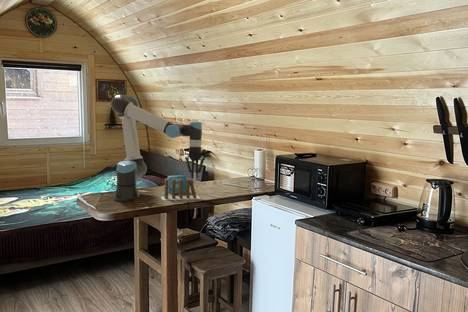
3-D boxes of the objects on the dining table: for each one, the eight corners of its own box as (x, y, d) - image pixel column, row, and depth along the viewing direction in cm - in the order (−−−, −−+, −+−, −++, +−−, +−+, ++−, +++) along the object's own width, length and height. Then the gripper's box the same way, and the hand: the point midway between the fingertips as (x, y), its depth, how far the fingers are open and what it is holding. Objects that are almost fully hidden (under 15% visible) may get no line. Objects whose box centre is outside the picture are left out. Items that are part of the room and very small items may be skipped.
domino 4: (187, 198, 266) (187, 179, 265) (185, 196, 271) (185, 178, 270) (189, 198, 267) (189, 179, 266) (188, 196, 272) (188, 178, 270)
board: (162, 201, 260) (162, 200, 260) (160, 198, 269) (160, 196, 269) (200, 200, 267) (200, 198, 266) (197, 197, 276) (197, 195, 276)
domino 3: (180, 198, 265) (180, 179, 264) (178, 196, 270) (179, 178, 269) (182, 198, 266) (182, 179, 264) (181, 196, 271) (181, 178, 269)
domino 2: (172, 198, 264) (173, 179, 263) (171, 197, 269) (171, 178, 267) (175, 198, 264) (175, 179, 263) (174, 197, 269) (174, 178, 268)
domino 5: (194, 198, 268) (189, 180, 266) (192, 196, 273) (188, 178, 270) (196, 197, 268) (192, 179, 266) (195, 195, 273) (190, 178, 271)
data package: (169, 194, 280) (169, 176, 279) (166, 193, 284) (167, 175, 283) (186, 193, 286) (186, 176, 285) (183, 192, 290) (183, 175, 289)
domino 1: (165, 199, 263) (165, 179, 261) (164, 197, 268) (164, 178, 266) (168, 198, 263) (168, 179, 262) (167, 197, 268) (167, 178, 267)
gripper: (186, 146, 261) (185, 184, 264) (206, 146, 265) (205, 184, 268) (184, 145, 268) (183, 182, 271) (204, 145, 272) (203, 182, 275)
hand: (194, 183), depth 269 cm, fingers closed
